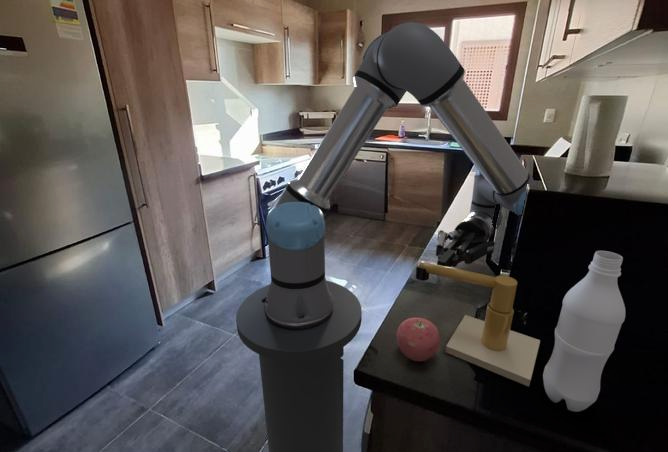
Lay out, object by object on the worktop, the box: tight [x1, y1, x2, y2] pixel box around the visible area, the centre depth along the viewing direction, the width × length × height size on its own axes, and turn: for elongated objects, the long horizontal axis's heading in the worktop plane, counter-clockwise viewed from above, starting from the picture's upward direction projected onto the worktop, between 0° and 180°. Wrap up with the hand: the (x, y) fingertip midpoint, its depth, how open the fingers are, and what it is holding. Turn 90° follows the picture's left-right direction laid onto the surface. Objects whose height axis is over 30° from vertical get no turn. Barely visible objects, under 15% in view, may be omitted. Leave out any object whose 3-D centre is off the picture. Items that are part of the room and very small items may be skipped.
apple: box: [396, 317, 441, 362], centre depth 62 cm, size 7×7×8 cm
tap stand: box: [444, 302, 541, 388], centre depth 63 cm, size 14×12×9 cm
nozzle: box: [414, 261, 518, 313], centre depth 63 cm, size 18×4×6 cm, turn 61°
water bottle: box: [542, 250, 626, 413], centre depth 50 cm, size 7×7×25 cm
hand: (440, 267), depth 66 cm, fingers closed
